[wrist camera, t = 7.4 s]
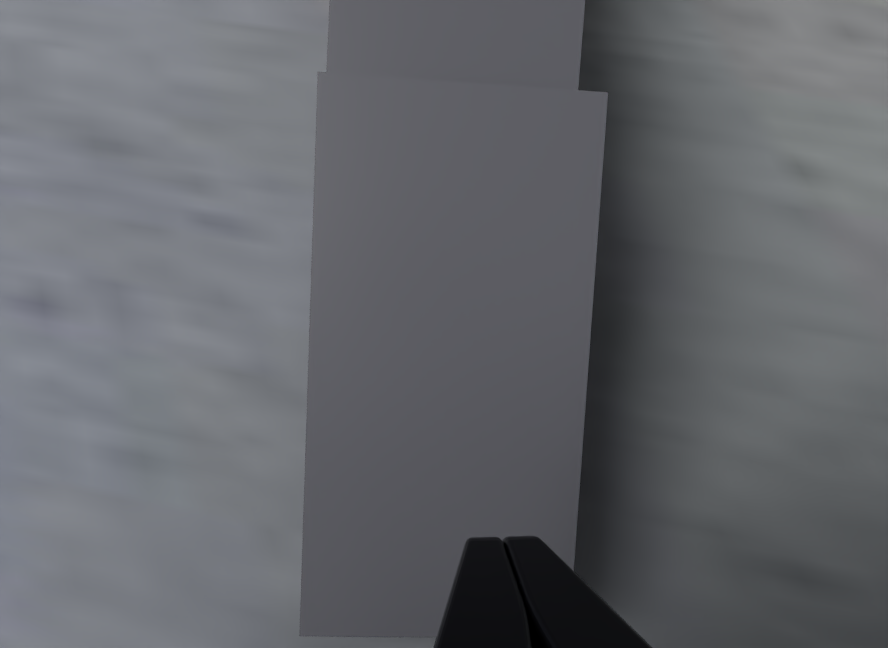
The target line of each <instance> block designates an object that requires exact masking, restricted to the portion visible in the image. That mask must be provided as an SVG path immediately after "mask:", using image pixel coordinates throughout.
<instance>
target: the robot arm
mask: <svg viewBox="0 0 888 648" xmlns="http://www.w3.org/2000/svg"><path fill="white" fill-rule="evenodd" d="M434 648H652V647H651V646H650V645H649V644H648V643H647V642H646V641H645V640H644V639H643V638H642V637H641V636H640V635H639V634H638V633H637V632H636V631H635V630H634V629H633V628H632V627H630V626H629V625H628V624H627V623H626V622H625V621H624V620H623V619H622V618H621V617H620V616H619V615H618V614H617V613H616V612H615V611H614V610H613V609H612V608H611V607H610V606H609V605H608V604H607V603H606V602H605V601H604V600H603V599H602V598H601V597H600V596H599V595H598V594H597V593H596V592H595V591H594V590H593V589H592V588H591V587H590V586H588V585H587V584H586V583H585V582H584V581H583V580H582V579H581V578H580V577H579V576H578V575H577V574H576V573H575V572H574V571H573V570H572V569H571V568H570V567H569V566H568V565H567V564H566V563H565V562H564V561H563V560H562V559H561V558H560V557H559V556H558V555H557V554H556V553H555V552H554V551H553V550H552V549H551V548H550V547H549V546H548V545H547V544H545V543H544V542H543V541H542V540H541V539H540V538H538V537H537V536H508V537H505V538H504V539H503V541H502V540H501V539H500V538H498V537H471V538H469V539H467V540H466V542H465V545H464V548H463V552H462V555H461V558H460V562H459V565H458V568H457V572H456V575H455V578H454V582H453V585H452V588H451V592H450V595H449V598H448V601H447V605H446V608H445V611H444V615H443V618H442V621H441V625H440V628H439V631H438V635H437V638H436V641H435V645H434Z"/></svg>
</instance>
